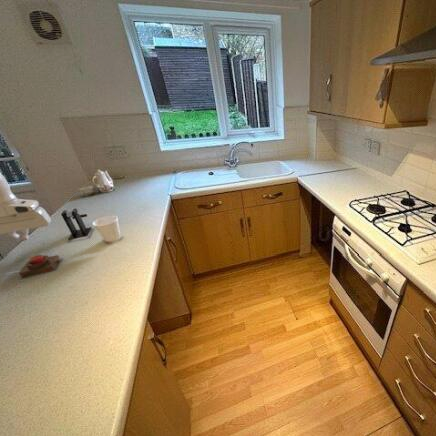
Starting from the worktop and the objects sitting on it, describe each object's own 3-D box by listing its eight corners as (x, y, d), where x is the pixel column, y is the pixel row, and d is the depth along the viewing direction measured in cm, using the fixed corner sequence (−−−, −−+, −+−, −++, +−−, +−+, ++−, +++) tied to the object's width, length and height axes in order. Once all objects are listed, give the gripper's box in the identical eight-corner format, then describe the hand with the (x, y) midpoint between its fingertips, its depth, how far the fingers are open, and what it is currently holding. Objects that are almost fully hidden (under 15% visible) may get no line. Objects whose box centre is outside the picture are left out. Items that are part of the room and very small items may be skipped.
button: (29, 265, 96) (26, 262, 95) (33, 260, 99) (31, 256, 98) (42, 262, 97) (40, 259, 96) (45, 257, 100) (43, 253, 100)
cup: (114, 246, 113) (105, 226, 107) (96, 245, 114) (86, 225, 109) (130, 235, 121) (122, 216, 116) (113, 234, 123) (104, 215, 117)
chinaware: (107, 186, 193) (97, 165, 185) (126, 183, 191) (117, 163, 183) (79, 200, 168) (65, 177, 160) (100, 197, 167) (88, 174, 159)
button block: (22, 277, 95) (16, 270, 93) (30, 266, 101) (25, 258, 99) (54, 270, 98) (49, 262, 97) (60, 259, 105) (56, 251, 103)
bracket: (74, 232, 125) (61, 208, 119) (92, 228, 128) (81, 205, 122) (68, 242, 117) (54, 217, 111) (88, 237, 120) (76, 213, 114)
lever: (73, 220, 126) (72, 215, 126) (87, 217, 128) (86, 213, 128) (61, 217, 114) (60, 213, 114) (77, 215, 117) (76, 210, 117)
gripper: (-44, 217, 80) (-18, 251, 87) (36, 206, 88) (54, 237, 95) (-32, 210, 86) (-9, 242, 92) (42, 199, 93) (59, 230, 100)
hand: (24, 240), depth 94 cm, fingers closed
